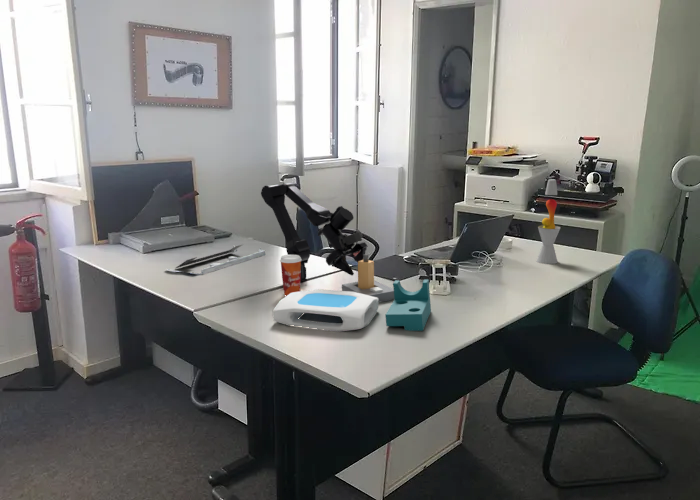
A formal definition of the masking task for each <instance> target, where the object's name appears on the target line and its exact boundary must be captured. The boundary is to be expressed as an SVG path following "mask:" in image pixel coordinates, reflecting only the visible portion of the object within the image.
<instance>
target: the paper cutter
mask: <svg viewBox="0 0 700 500" xmlns="http://www.w3.org/2000/svg"><path fill="white" fill-rule="evenodd" d="M242 246H243V244H239V245H232V248H231V249H228V250H225V251H222V252H218V253H213V254H210V255H207V256H203V257H200V258H198V257H197V256H196V257H192V258H190V259H186V260H184V261H183V262H181V264H179V265H178V266H176V267H175V269H179V268H182V267H185V266H188V265H189V266H190V265H192V264H196V263H199V262H202V261H206V260H209V259H212V258H216V257H220V256H223V255H227V254H231V253H236V252H238V249H239V248H240V247H242ZM263 256H266V250H264V249H262V247H259V249H258V250H257V251H256V252H254V253H251V254H247V255H245V256H241V257H238V256H228V258H227V259H228V260H227V261H224V262H219V263H218V262H214V263H211V264H209V266H207V267H205V268H201V270H200V272H201V273H198V272H191V274H192V275H205V274H206V275H207V274H209V273H211V272H216V271H218V270H221V269H224V268H228V267H232V266H235V265H238V264H241V263H244V262H247V261H250V260H253V259H256V258H258V257H259V258H260V257H263ZM175 269H170V268H165V270H166V271H167V272H168V271H169V272H176V273H177V272H178V273H183V271H181V270H175Z"/></svg>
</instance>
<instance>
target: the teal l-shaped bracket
mask: <svg viewBox="0 0 700 500" xmlns="http://www.w3.org/2000/svg"><path fill="white" fill-rule="evenodd" d="M392 285H393V287H392V288H393V289H394V299H393V300H392V303H391V304H390V306H389V308H388V309H387V311H386V313H385V325H386V327H404V331H414V332H416V331H418V332H420V331H422V332H423V331H424V330H425V326H426V324H427V321H428V319H429V317H430V314H431V312H432V306H431V305H432V304H431V293H430V291H431V290H430V281H429V279H423V280H422V283H421V285H422V286H421V288H419V289H418V290H416V291H409V290H407V289H405V288H404V287H403V285H402V284H401V280H396V279H395V280H394V282H393V283H392Z"/></svg>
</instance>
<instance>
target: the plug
mask: <svg viewBox="0 0 700 500" xmlns="http://www.w3.org/2000/svg"><path fill="white" fill-rule="evenodd" d="M374 280H375V262H374V260H370V259H369V254H368V253H365V254H364V255H363V260H361V261H358V262H357V282H358V288H360V289H362V290H363V289H369V288H374Z"/></svg>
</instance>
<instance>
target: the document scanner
mask: <svg viewBox="0 0 700 500" xmlns="http://www.w3.org/2000/svg"><path fill="white" fill-rule="evenodd" d="M378 311H379V302H378V298H377V297H373V296H369V295H365V294H361V293H357V292H351V291H342V290H339V289H338V290H335V289H324V288H320V289H319V288H318V289H317V288H316V289H311V290H310V289H309V290H300V291H299V292H292V293H290V294H289V295H287V296H284V297H283V298H282V299H280V300H279V302H277V304H276V306H275V307H274V308H273V310H272V319H273V321H274V322H276V323H279V324H283V325H285V324H286V326H289V325H294V326H302V327H309V328H317V329H316V330H318V329H324V330H323V331H328V330H330V331H331V332H337V333H338V332H348V331H349V332H350V331H355V330H361V329H363V328H366V327H367V326H368V325H370V323H371V322H372V320H373V319H374V318H375V317H376V314H377V312H378ZM303 313H305V314H317V315H326V316H333V317H334V316H335V317H340V318H341V320H342V323H341V322H338V323H337V322H324V321H323V322H322V321H314V320H308V319H301V317H302V316H301V315H302V314H303ZM300 316H301V317H300ZM299 317H300V319H298V318H299Z"/></svg>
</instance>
